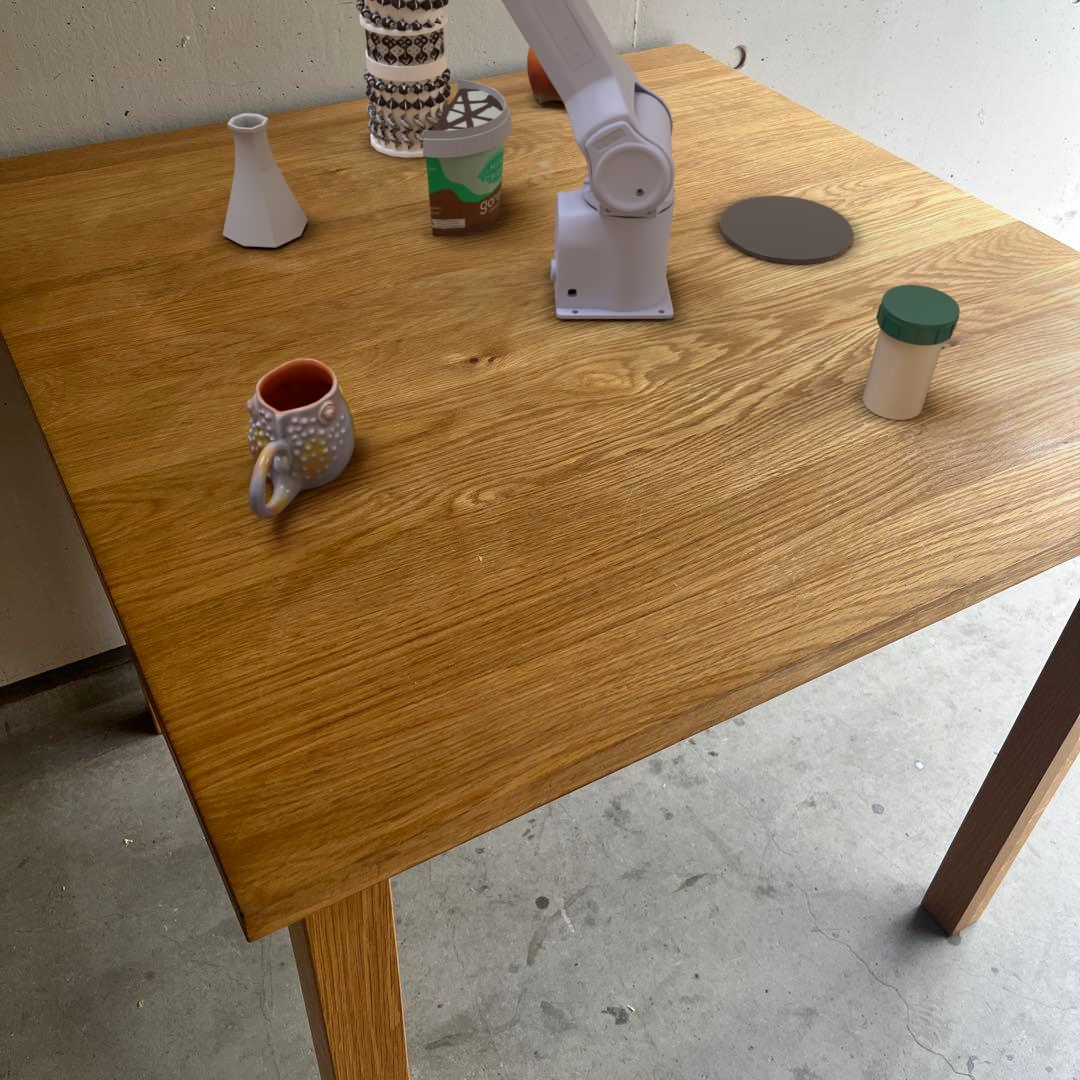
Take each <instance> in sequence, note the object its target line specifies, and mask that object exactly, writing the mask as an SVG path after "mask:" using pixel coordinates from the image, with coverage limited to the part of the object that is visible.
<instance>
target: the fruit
mask: <svg viewBox="0 0 1080 1080" xmlns="http://www.w3.org/2000/svg"><path fill="white" fill-rule="evenodd" d="M526 59H527V60H526V69H527V77H528V82H529V84H530V88H531V91H532V94H533V96H534V97H536V98H537V100H538V102H539V104H540V106H541V105H542V104H544V103H546V102H552V101H559V102H562V103H564V102H563V100H562V99H561V97H560V96H559V94H558V92H557V91H556V89H555V87H554V86H553V84H552V82H551V81H550V79H549V78H548V76H547V74H546V73H545V71H544V69H543V68H542V66H541V64H540V63H539V61H538V60H537V58H536V56H535V55H534V53H533V51H532V50H531V48H530V46H529V47H528V51H527V58H526Z"/></svg>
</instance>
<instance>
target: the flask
mask: <svg viewBox="0 0 1080 1080" xmlns="http://www.w3.org/2000/svg"><path fill="white" fill-rule="evenodd" d="M268 125H269V117H267V116H265V115H262V114H259V113H249V112H247V113H246V112H243V113H240V114H237V115H235V116H233V117H230V119H229V120H228V122H227V128H228V130H229V131H231V133H232V135H233V142H234V171H233V177H232V185H231V190H230V196H229V201H228V205H227V210H226V215H225V220H224V226H223V231H222V236H223V237H225V238H227V239H229V240H231V241H233V242H235V243H236V244H239V245H240V246H241V247H242V246H243V247H258V248H259V247H260V248H278V247H280V246H282V245H284V244H286V243H289V242H291V241H293V240H295V239H297V238H299V237H301V236H302V234H303V231H304V229H305V228H306V225H307V223H308V221H309V219H308V218H307V216H306V214H305V212H304V210H303V208H302V207H301V205H300V203H299V201H297V198H296V197H295V195H294V194H293V192H292V190H291V188H290V187H289V185H288V183H287V181H286V179H285V178H284V175H283V174H282V172H281V170H280V168H279V166H278V164H277V162H276V160H275V157H274V155H273V154H274V153H273V151H272V149H271V145H270V143H269V139H268V132H267V127H268Z"/></svg>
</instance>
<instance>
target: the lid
mask: <svg viewBox="0 0 1080 1080" xmlns="http://www.w3.org/2000/svg"><path fill="white" fill-rule="evenodd" d="M960 310H961V308H960V305H959V304H958V302H957V301H956V299H954V298H953V297H952V296H950V295H949V294H947V293H945V292H943V291H941V290H939V289H937V288H934V287H930V286H925V285H920V284H904V285H903V284H902V285H896V286H894V287H892V288H890V289H887V290H886V292H884V293H883V295H882V299H881V301H880V304H879V306H878V310H877V313H876V316H875V319H876V322H877V325H878V327H879V329H880V328H881V330H883V331H884V332H885V333H886V334H887V335H889V336H890V337H892V338H894V339H896V340H899V341H902V342H905V343H909V344H914V345H924V346H926V345H936V344H940V343H943V342H944V343H945V342H947V341H949V340H951V339H952V336H953V334H954V332H955V330H956V328H957V325H958V322H959V318H960V312H961V311H960ZM944 343H943V344H944Z"/></svg>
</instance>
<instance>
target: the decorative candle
mask: <svg viewBox="0 0 1080 1080" xmlns="http://www.w3.org/2000/svg"><path fill="white" fill-rule="evenodd" d="M355 1H356V9H357V10H358V11H359V12H360V13H359V25H360V26H361V27H362V28H363V29H364V31H365V42H366V49H365V60H366V68H365V70H364V73H363V79H364V80H365V82H366V84H367V85H366V88H365V91H364V93H365V95H366V96H367V98H368V100H369V102H368V104H367V106H366V114H367V116H368V117H369V121H368V124H367V127H368V130H369V133H370V137H369V138H370V145H371V147H373V149H375V150H376V151H377V152H378V153H382V154H385V155H387V156H390V157H396V158H404V159H410V158H411V159H412V158H413V159H415V158H424V157H423V139H424V130H430V131H433V129H434V128H435V126H436V124H437V122H438V120H439V118H440V116H441V114H442V112H443V110H444V109H445V107H446V106H448V105H449V104H450V103H451V102H450V99H449V97H451V90H452V88H451V85H450V84H449V81H450V79H451V69H449V68H448V62H447V61H448V60H447V51H446V48H445V35H444V34H445V32H444V30H445V29H444V28H445V26H446V25H447V24H448V23H449V19H448V14H447V10H445V9H443V8H444V7H445V6H447V5H448V4H449V2H450V0H355Z"/></svg>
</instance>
